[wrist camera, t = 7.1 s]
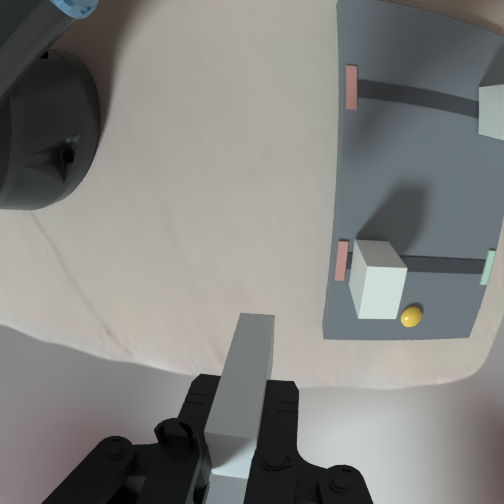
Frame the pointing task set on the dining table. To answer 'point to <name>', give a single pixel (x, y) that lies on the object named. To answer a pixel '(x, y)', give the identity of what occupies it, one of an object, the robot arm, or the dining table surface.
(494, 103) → the block
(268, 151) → the dining table surface
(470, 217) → the breaker panel
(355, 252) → the block
